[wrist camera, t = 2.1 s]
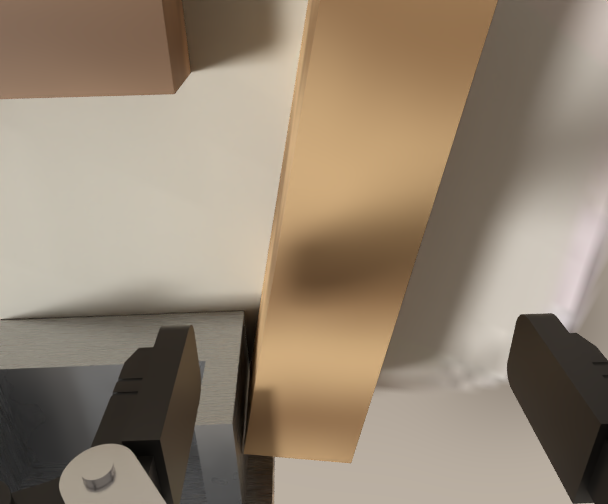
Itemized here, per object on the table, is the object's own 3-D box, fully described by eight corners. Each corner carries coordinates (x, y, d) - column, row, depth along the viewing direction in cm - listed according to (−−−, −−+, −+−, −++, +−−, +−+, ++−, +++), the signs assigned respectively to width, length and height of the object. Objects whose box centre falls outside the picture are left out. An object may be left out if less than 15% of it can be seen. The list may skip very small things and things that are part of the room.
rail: (315, -46, 16) (328, -47, 11) (442, -21, 16) (501, -11, 12) (250, 361, 23) (243, 453, 19) (338, 370, 24) (351, 463, 20)
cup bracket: (-27, 321, 21) (-236, 570, 13) (268, 310, 22) (259, 546, 13) (17, 428, 25) (-128, 689, 16) (275, 417, 25) (272, 667, 16)
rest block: (-112, -67, 15) (-195, -71, 12) (173, -73, 15) (150, -79, 12) (-61, 79, 17) (-123, 102, 14) (190, 72, 17) (174, 94, 14)
